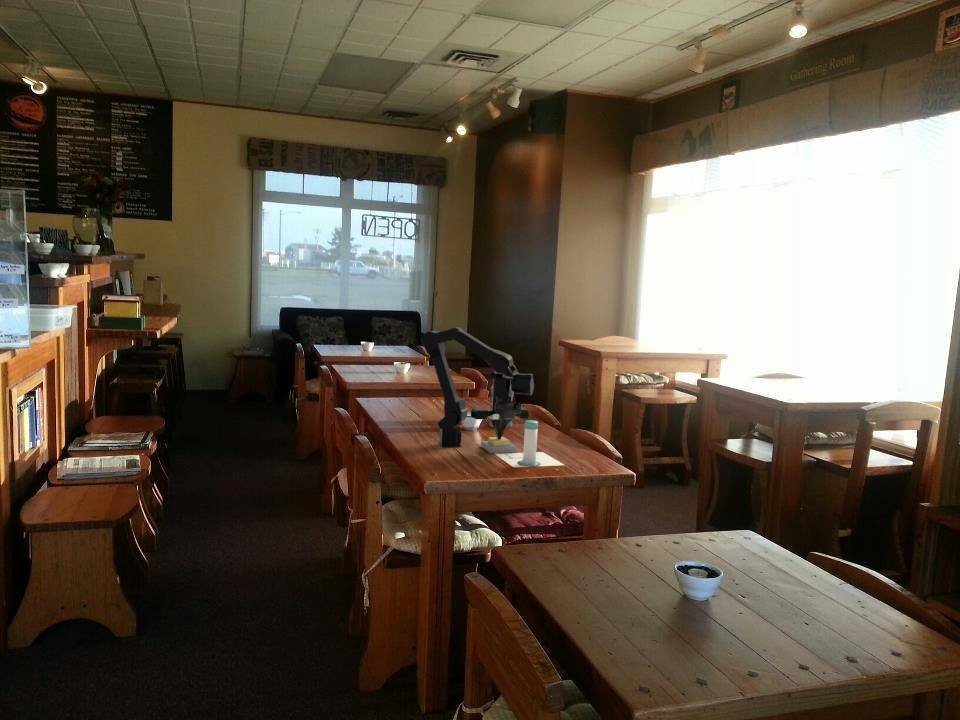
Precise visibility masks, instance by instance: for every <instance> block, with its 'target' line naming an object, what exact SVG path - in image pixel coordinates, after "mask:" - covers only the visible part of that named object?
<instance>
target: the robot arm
mask: <svg viewBox="0 0 960 720" xmlns="http://www.w3.org/2000/svg"><path fill="white" fill-rule="evenodd" d="M451 341H455V342H457V343H459V344H460V345H462V346H464V347H465V348H466V349H468V350H470V351H471V352H473V353H475V354H476V355H477V356H479V357H481V358H482V359H483V360H484V361H485V362H486V363H487V364H488V366H490V367H491V368H492V369H493V370H492V371H491V373H489V374H488V375H487V379H493V380H492V382H493V383H492V386H493V394H491V393H490V394H491V395H490V396H491V406H490V410H487V409H486V408H484V407H472V408H471V410H470V417H471V418H473V419H474V420H486V419H487V420H489V421H490V420H491V423H492V425H493V427H492V428H493V431H494V433H495V437H497V439H501V437H503V434H504V432H505V430H506V429H507V428H506V426H507V424H508V423H509V422H510V421H512V422H513V421H514V419H515V417H519V418H520V420H521V419H526V420H527V419H528V420H529V419H530V414H531V413H530V411H529V409H527V408H525V407H523V406H522V404H521V403H520V402H514V403H513V401H511V396H510V386H511V390H512V391H514V395H515V394H516V395H527V396H532V395H533V393H534V389H535V383H534V378H533V377H534V375H533V374H532V373H520V372H519V371H518V369H517V367H516V366H515V365H514V359H513V356H512V355H510V354H508V353H506V352H504V351H501V350H499V349H498V350H497V349H495V348H492V347H490V346H489V345H487V344H485V343H483V341H480V340H479V339H478V338H476V337H474V336H473V335H472V334H469V333H468V332H466V331H465V330H463V328H461V327H460V326H459V327H458V326H457V327H452V328H451V329H447V330H443V331H440V330H432V331H431V330H430V331H427V332H425V333H423V335H422V337H421V344H422V345H423V348H424V349H425V352H426V353H427V355H428V356H429V357H430V358H431V360H432V363H433V364H432V365H433V367H434V370H435V374H436V377H437V379H438V384H439V386H440V389H441V392H442V397H443V399H444V400H443V401H444V403H443V411H444V417H442V418H441V419H440V420H439V421H438V422H437V424H438V429H439V440H438V441H437V444H438V445H439V446H441V447H442V448H457V447H462V431H461V427H460V426H461V424H462V423H463V421H465V420H466V418H467V417H468V411H469V408H468V406H467V404H466V399H465V398H462V399H461V398H460V397H459V396H458V394H457V393H458V392H457V391H456V387H455V386H456V385H455V383H454V380H453V376H452V374H451V371H450V368H449V364H448V360H447V357H446V342H451ZM499 416H500V417H499Z"/></svg>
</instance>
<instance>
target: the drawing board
mask: <svg viewBox="0 0 960 720" xmlns="http://www.w3.org/2000/svg"><path fill="white" fill-rule="evenodd" d="M494 455H495V456H497V457H498V458H499V459H501V460H503V461H504V462H505V463H507V464H508V465H510V466H511V467H513V468H530V467H531V468H533V467H554V466H555V467H557V466H565V464H564V463H562V462H560V461H559V460H557V459H556V458H553V457H552V456H551V455H548V454H547V453H545V452H543V451H536V464H534V465H528V464H524V463H523V452H512V453H494Z"/></svg>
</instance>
